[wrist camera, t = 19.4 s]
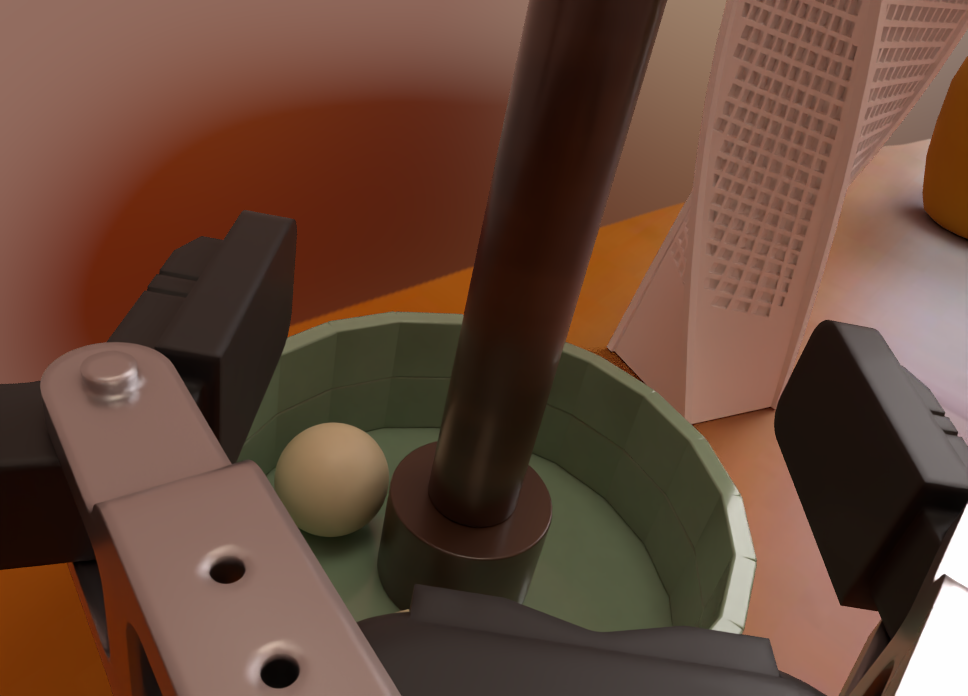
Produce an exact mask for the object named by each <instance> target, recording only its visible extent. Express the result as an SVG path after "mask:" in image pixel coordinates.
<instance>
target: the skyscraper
mask: <svg viewBox="0 0 968 696" xmlns="http://www.w3.org/2000/svg"><path fill="white" fill-rule="evenodd" d="M967 29H968V0H727V1H726V6H725V10H724V14H723V18H722V22H721V26H720V31H719V34H718V38H717V42H716V47H715V52H714V58H713V62H712V67H711V72H710V77H709V83H708V88H707V93H706V97H705V104H704V110H703V117H702V123H701V129H700V136H699V142H698V150H697V157H696V165H695V173H694V182H693V190H692V192H691V193H690V195H689V197H688V199H687V201H686V202H685V204H684V206H683V208H682V209H681V211H680V213H679V215H678V216H677V218H676V220H675V222H674V224H673V226H672V227H671V229H670V231H669V233H668V235H667V236H666V238H665V240H664V242H663V244H662V246H661V247H660V249H659V251H658V253H657V255H656V257H655V258H654V260H653V262H652V264H651V266H650V267H649V269H648V271H647V273H646V275H645V277H644V279H643V280H642V282H641V284H640V286H639V288H638V290H637V292H636V293H635V295H634V297H633V299H632V301H631V303H630V305H629V306H628V308H627V310H626V312H625V314H624V316H623V318H622V319H621V321H620V323H619V325H618V327H617V329H616V331H615V332H614V334H613V336H612V338H611V340H610V342H609V344H608V345H607V348H608V349H609V350H610V351H611V352H612V351H615V352H616V353H617V354H618V355H619V356H620V357H621V359H622V360H623V361H624V362H625V363H626V364H627V365H628V366H629V367H630V368H631V369H632V370H633V371H634V372H635V373H636V374H637V375H638V377H639V378H640V379H641V380H642V381H643V382H644V383H645V384H646V385H647V386H649V387H651V388H652V389H654V390H655V392H658V393H659V394H660V395H661V396H662V397H663V398H664V399H665V400H666V401H667V402H668V403H669V404H670V405H671V406H672V407H673V408H675V409H676V410H677V411H678V412H679V413H680V414H681V415H682V416H683V417H684V418H685V419H686V420H687V421H688V422H689V423H690V424H695V423H699V422H704V421H708V420H713V419H717V418H722V417H726V416H731V415H735V414H740V413H744V412H749V411H753V410H758V409H762V408H767V407H772V408H773V409H776V408H777V404H778V401H779V399H780V396H781V394H782V392H783V390H784V388H785V386H786V384H787V382H788V380H789V378H790V375H791V372H792V369H793V366H794V363H795V360H796V357H797V354H798V351H799V348H800V345H801V342H802V339H803V336H804V333H805V330H806V327H807V324H808V321H809V318H810V314H811V311H812V308H813V305H814V302H815V298H816V295H817V292H818V289H819V286H820V282H821V279H822V276H823V273H824V269H825V266H826V262H827V259H828V255H829V252H830V249H831V245H832V242H833V238H834V235H835V231H836V228H837V224H838V221H839V217H840V213H841V209H842V206H843V202H844V198H845V194H846V191H847V188H848V187H849V185H850V184H851V183H852V182H853V181H854V180H855V179H856V177H857V176H858V175H859V174H860V173H861V172H862V170H863V169H864V168H865V167H866V166H867V165H868V163H869V162H870V161H871V160H872V159H873V158H874V156H875V155H876V154H877V153H878V151H879V150H880V149H881V148H882V146H883V145H884V144H885V142H886V141H887V140H888V139H889V138H890V136H891V135H892V134H893V132H894V131H895V130H896V129H897V127H898V126H899V125H900V124H901V122H902V121H903V120H904V119H905V117H906V116H907V115H908V113H909V112H910V111H911V109H912V108H913V107H914V105H915V104H916V103H917V101H918V100H919V98H920V97H921V96H922V94H923V93H924V92H925V90H926V89H927V88H928V86H929V85H930V83H931V82H932V81H933V79H934V78H935V77H936V75H937V74H938V72H939V71H940V69H941V68H942V66H943V65H944V63H945V62H946V60H947V59H948V57H949V56H950V55H951V53H952V51H953V50H954V49H955V47H956V46H957V44H958V43H959V41H960V40H961V38H962V37H963V35H964V34H965V32H966V31H967Z"/></svg>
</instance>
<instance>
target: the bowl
mask: <svg viewBox="0 0 968 696" xmlns="http://www.w3.org/2000/svg"><path fill="white" fill-rule="evenodd" d="M463 316H464V315H463V314H447V313H420V312H387V313H380V314H374V315H367V316H361V317H354V318H348V319H341V320H335V321H329V322H328V323H323V324H321V325H318V326H316V327H313V328H311V329H308V330H306V331H303V332H301V333H298V334H295V335H293V336H290V337H288V338H287V340H286V344H285V347H284V350H283V352H282V355H281V357H280V359H279V362H278V364H277V366H276V369H275V371H274V374H273V376H272V378H271V381H270V383H269V386H268V388H267V390H266V393H265V395H264V398H263V400H262V402H261V405H260V407H259V409H258V412H257V414H256V417H255V419H254V421H253V424H252V426H251V429H250V431H249V433H248V436H247V438H246V441H245V443H244V445H243V448H242V450H241V452H240V455H239V457H238V460H237V462H236V463H238V462H241V461H244V460H252V461H254V462H255V463H256V464H257V465H258V466H259V467H260V468H261V470H262V471H263V473H264V474H265V476H266V477H267V479H268V480H269V482H270V484H271V485H272V487H273V488H274V490H275V486H274V477H275V470H276V466H277V462H278V460H279V458H280V455H281V453H282V452H283V450H284V449H285V447H286V446H287V444H288V443H289V442H290V441H291V440H292V439H293V438H294V437H295V436H297V435H298V434H299V433H301V432H302V431H304V430H306V429H308V428H310V427H312V426H315V425H319V424H322V423H344V424H348V425H352V426H354V427H357V428H359V429H361V430H362V431H364V432H366V433H367V434H368V435H370V436H371V437H372V438H373V439H374V440H375V441H376V443H377V444H378V445H379V447H380V448H381V450H382V451H383V453H384V456H385V458H386V461H387V464H388V469H389V487H390V482H391V478H392V475H393V473H394V471H395V469H396V467H397V466H398V464H399V463H400V462H401V461H402V460H403V459H404V458H405V457H406V456H407V455H408V454H409V453H411V452H412V451H414V450H415V449H417V448H419V447H421V446H423V445H426V444H428V443H432V442H436V441H438V437H439V432H440V427H441V422H442V417H443V413H444V408H445V403H446V398H447V393H448V389H449V384H450V379H451V374H452V369H453V364H454V360H455V355H456V350H457V345H458V340H459V336H460V331H461V326H462V321H463ZM529 465H530V466H531V467H532V468H533V469H534V470H535V471H536V472H537V473H538V475H539V476H540V477H541V479H542V480H543V482H544V483H545V485H546V487H547V489H548V491H549V494H550V497H551V501H552V507H553V511H552V520H551V524H550V527H549V530H548V533H547V536H546V539H545V542H544V545H543V548H542V551H541V554H540V557H539V560H538V563H537V566H536V569H535V572H534V574H533V577H532V580H531V583H530V586H529V589H528V592H527V595H526V597H525V600H524V602H523V603H522V605H525V606H528V607H530V608H533V609H535V610H538V611H541V612H543V613H546V614H549V615H551V616H554V617H556V618H559V619H562V620H564V621H567V622H570V623H572V624H575V625H578V626H580V627H583V628H585V629H588V630H592V631H597V632H612V631H624V630H636V629H648V628H660V627H672V626H691V627H697V628H704V629H710V630H716V631H723V632H729V633H736V634H742V633H743V631H744V629H745V624H746V619H747V613H748V608H749V603H750V598H751V592H752V587H753V582H754V577H755V572H756V566H757V563H756V562H757V559H756V555H755V551H754V546H753V542H752V538H751V533H750V529H749V525H748V520H747V516H746V512H745V508H744V503H743V499H742V497H741V494H740V492H739V491H738V489H737V488H736V486H735V484H734V483H733V481H732V480H731V478H730V476H729V475H728V473H727V472H726V470H725V468H724V467H723V465H722V464H721V462H720V460H719V459H718V457H717V455H716V454H715V452H714V451H713V449H712V447H711V446H710V444H709V443H708V441H707V440H706V439H705V437H704V436H703V435H702V434H701V433H700V432H699V431H698V430H697V429H695V428H694V427H693V426H692V425H691V424H690V423H689V422H688V421H687V420H686V419H685V418H684V417H683V416H682V415H681V414H680V413H679V412H678V411H677V410H676V409H675V408H673V407H672V406H671V405H670V404H669V403H668V402H667V401H666V400H665V399H664V398H663V397H662V396H661V395H660V394H659V393H658V392H655V390H654V389H652V388H651V387H649V386H647V385H646V384H644V383H642V382H641V381H639V380H638V379H636V378H634V377H633V376H631V375H630V374H628V373H626V372H625V371H623V370H622V369H620V368H618V367H617V366H615V365H614V364H612V363H610V362H609V361H607V360H606V359H604V358H602V357H601V356H599V355H596V354H595V353H592V352H590V351H587V350H585V349H582V348H580V347H577V346H575V345H572V344H570V343H567V342H565V344H564V347H563V351H562V354H561V358H560V361H559V364H558V368H557V371H556V374H555V378H554V381H553V384H552V388H551V391H550V394H549V398H548V401H547V404H546V408H545V411H544V414H543V418H542V421H541V425H540V428H539V431H538V435H537V438H536V441H535V445H534V448H533V451H532V455H531V458H530V461H529ZM389 487H388V492H387V496H386V498H385V501H384V503H383V505H382V507H381V509H380V510H379V512H378V513H377V514H376V516H375V517H374V518H373V519H372V520H371V521H370V522H369V523H368V524H366V525H365V526H364V527H362V528H360V529H359V530H357V531H355V532H353V533H350V534H347V535H343V536H337V537H323V536H317V535H313V534H310V533H308V532H306V531H304V530H302V529H300V528H299V527H298V529H299V531H300V532H301V534H302V535H303V537H304V539H305V540H306V542H307V544H308V545H309V547H310V548H311V550H312V552H313V553H314V555H315V557H316V558H317V560H318V561H319V563H320V565H321V566H322V568H323V570H324V571H325V573H326V574H327V576H328V578H329V579H330V581H331V582H332V584H333V586H334V587H335V589H336V591H337V592H338V594H339V595H340V597H341V599H342V600H343V602H344V604H345V605H346V607H347V608H348V610H349V612H350V613H351V615H352V616H353V618H354V620H355V621H356V622H358V621H361V620H364V619H367V618H370V617H375V616H380V615H385V614H390V613H396V612H399V611H401V610H400V609H399V608H398V607H397V606H396V605H395V604H394V603H393V602H392V601H391V599H390V598H389V597H388V595H387V593H386V592H385V590H384V588H383V586H382V584H381V581H380V578H379V574H378V566H377V560H378V552H379V546H380V540H381V534H382V528H383V523H384V517H385V511H386V505H387V499H388V493H389Z"/></svg>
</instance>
